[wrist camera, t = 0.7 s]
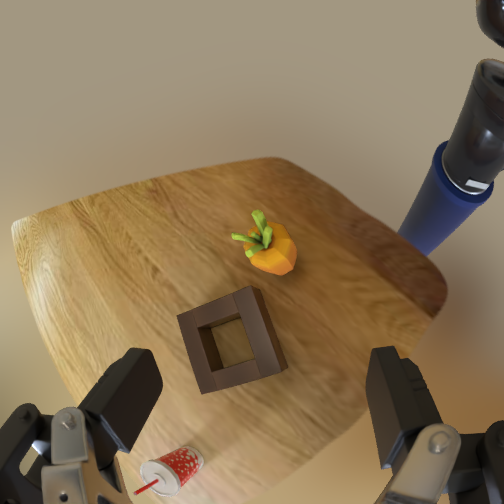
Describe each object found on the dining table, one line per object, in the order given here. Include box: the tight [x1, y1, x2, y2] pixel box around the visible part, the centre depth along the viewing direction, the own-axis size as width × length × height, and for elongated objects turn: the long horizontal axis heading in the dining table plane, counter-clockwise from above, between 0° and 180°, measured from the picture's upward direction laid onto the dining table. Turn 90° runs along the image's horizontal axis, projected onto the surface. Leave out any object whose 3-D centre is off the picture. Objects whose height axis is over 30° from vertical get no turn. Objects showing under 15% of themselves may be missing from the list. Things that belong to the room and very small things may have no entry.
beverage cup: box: [134, 446, 204, 497], centre depth 27 cm, size 6×6×14 cm
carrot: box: [232, 210, 297, 275], centre depth 30 cm, size 5×5×15 cm
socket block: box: [177, 285, 288, 394], centre depth 34 cm, size 11×11×4 cm
